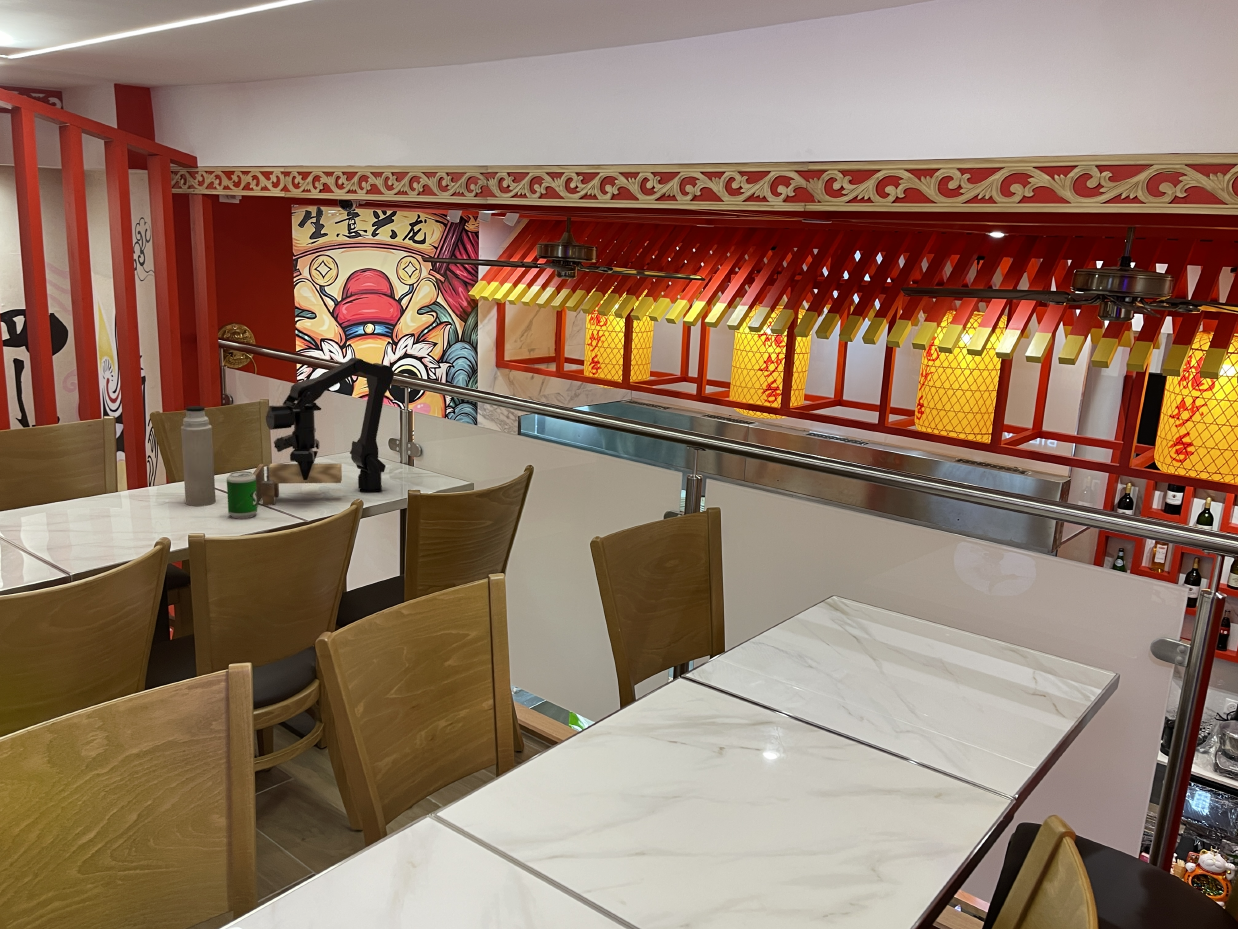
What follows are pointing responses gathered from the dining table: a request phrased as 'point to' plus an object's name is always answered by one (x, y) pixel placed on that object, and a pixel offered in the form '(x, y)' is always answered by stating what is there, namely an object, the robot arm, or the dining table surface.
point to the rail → (293, 474)
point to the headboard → (265, 487)
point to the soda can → (242, 494)
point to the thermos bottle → (198, 458)
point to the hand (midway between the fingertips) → (306, 478)
